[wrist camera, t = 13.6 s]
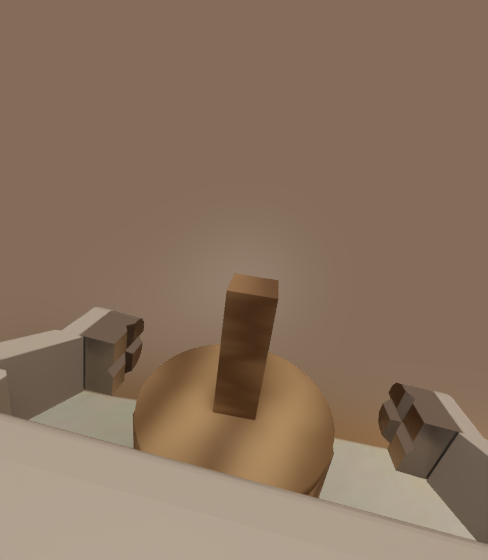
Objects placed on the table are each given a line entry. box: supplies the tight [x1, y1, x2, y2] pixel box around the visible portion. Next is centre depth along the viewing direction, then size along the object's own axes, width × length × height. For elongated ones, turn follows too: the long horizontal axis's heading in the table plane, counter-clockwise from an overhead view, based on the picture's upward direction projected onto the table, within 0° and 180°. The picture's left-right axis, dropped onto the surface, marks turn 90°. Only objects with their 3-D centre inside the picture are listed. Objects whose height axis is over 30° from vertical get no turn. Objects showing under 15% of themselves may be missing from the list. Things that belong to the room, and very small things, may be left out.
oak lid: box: [133, 274, 334, 498], centre depth 22 cm, size 15×15×17 cm
